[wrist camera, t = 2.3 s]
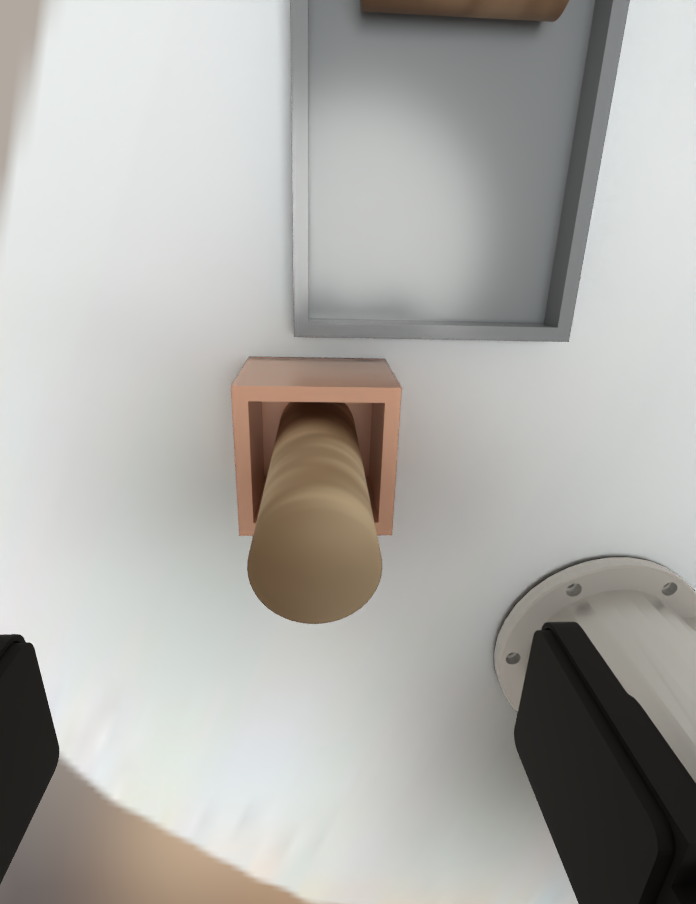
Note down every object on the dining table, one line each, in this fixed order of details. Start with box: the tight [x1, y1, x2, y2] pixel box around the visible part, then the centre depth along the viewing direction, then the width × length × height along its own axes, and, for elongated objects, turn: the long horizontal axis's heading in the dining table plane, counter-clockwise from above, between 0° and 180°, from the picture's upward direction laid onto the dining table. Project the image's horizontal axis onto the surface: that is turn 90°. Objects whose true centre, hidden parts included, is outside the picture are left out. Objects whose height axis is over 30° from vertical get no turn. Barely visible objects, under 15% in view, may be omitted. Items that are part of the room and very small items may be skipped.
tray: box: [290, 0, 630, 342], centre depth 21 cm, size 12×16×2 cm
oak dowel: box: [247, 402, 382, 624], centre depth 20 cm, size 4×4×12 cm
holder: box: [231, 357, 402, 536], centre depth 23 cm, size 6×6×6 cm
